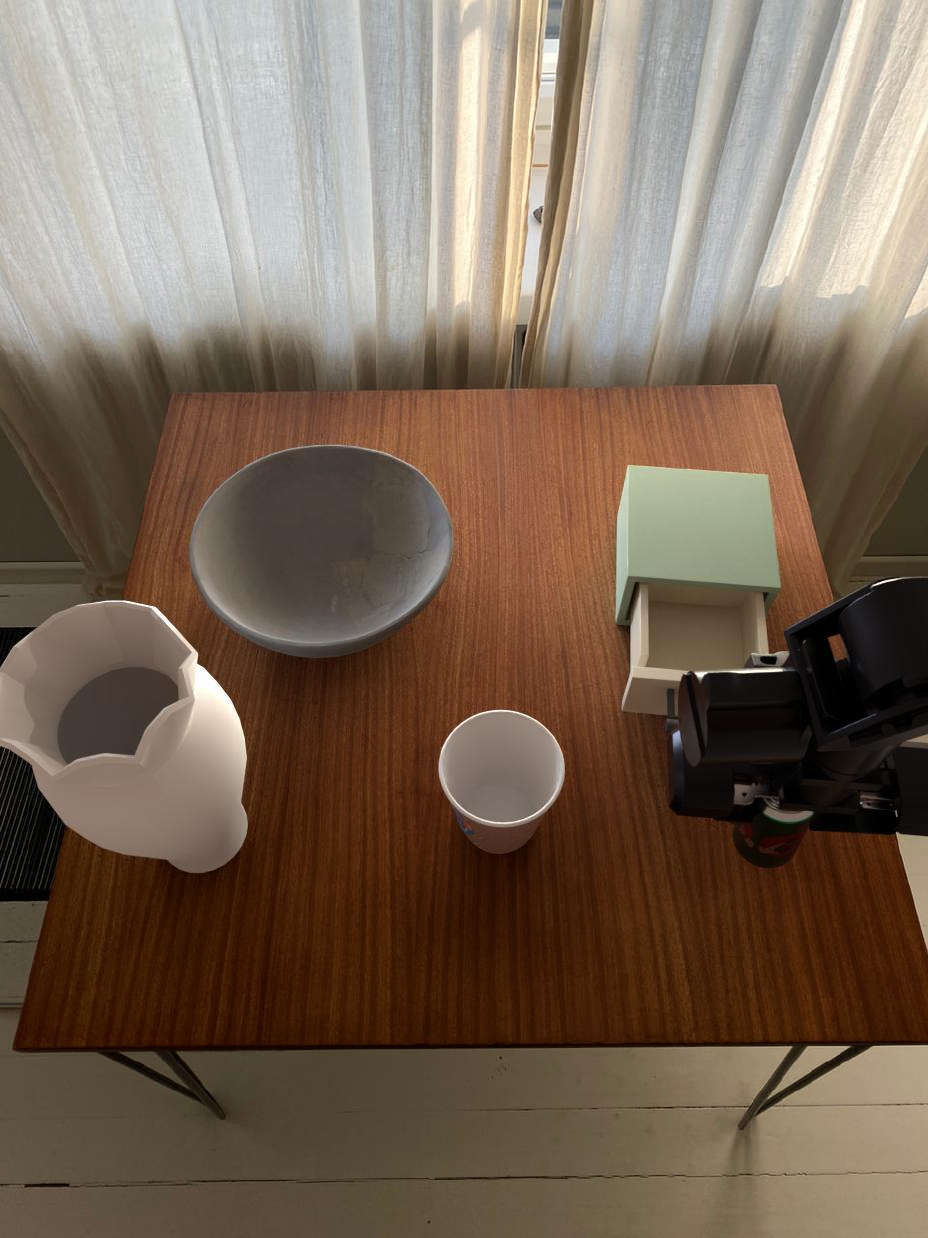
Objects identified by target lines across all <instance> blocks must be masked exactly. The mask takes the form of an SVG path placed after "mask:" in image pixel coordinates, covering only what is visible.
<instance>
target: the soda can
mask: <svg viewBox="0 0 928 1238" xmlns="http://www.w3.org/2000/svg"><path fill="white" fill-rule="evenodd" d="M761 785H762V786H763V784H761ZM756 786H757V784H756ZM767 786H768V787H769V785H767ZM816 813H817V812H812V811H800V810H788V809H780V804H779V799H770V798H755V799H754V801H753V802H752V814H753V823H752V824H742V825H734V824H733V827H732V835H731V836H732V841H733V845H734V847H735V849H736V851H737V852H738V854H739V855H740V856H741V858H743V859H744V860H745V861H746V862H748V864H751V865H753V866H755V867H758V868H760V869H761V868H762V869H768V870H769V869H777V868H780V867H783V866H785V865H787V864H788V863H789V862H790V861H791V860H792V859H793V858H794V856H795V855H796V853H797V852H798V849H799V847H800V845H801V844H802V841H803V840H804V837H805V836H806V833H807V832H808V830H809V826H810V824H811V822H812V820H813V818H814V816H815V814H816Z"/></svg>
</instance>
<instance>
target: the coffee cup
mask: <svg viewBox="0 0 928 1238" xmlns="http://www.w3.org/2000/svg"><path fill="white" fill-rule="evenodd" d="M565 769H566V767H565V759H564V755H563V751H562V749H561V747H560V744H559V742H558V740H557V739H556V738H555V736H554V735H553V733H552V732H551V731H550V730H549V729H548V728H547V727H546V726H544V724H542V723H541V722H539V720H537V719H535V718H533V717H532V716H529V715H527V714H526V713H525V714H524V713H522V712H519V711H514V710H507V709H495V710H494V709H493V710H488V711H483V712H480V713H476V714H474V715H472V716H470V717H468V718H467V719H465V720H464V721H462V722H461V723H460V724H458V725H457V726H456V727H455V728H453V730H452V731H451V733H450V734H449V735H448V737H447V738H446V739H445V741H444V743H443V745H442V747H441V751H440V754H439V759H438V776H439V781H440V784H441V788H442V790H443V792H444V794H445V796H446V798H447V799H448V800H449V802H450V803H451V806H452V808H453V812H454V814H455V817H456V819H457V822H458V824H459V826H460V828H461V830H462V831H463V833H464V835H465V836H466V837H467V840H469V841H470V842H471V843H472V844H473V845H475V846H476V847H477V848H479V849H480V850H482V851H485V852H487V853H491V854H499V855H502V854H507V853H511V852H514V851H517V850H518V849H519V848H521V847H523V846H524V845H525V844H527V843H528V842H529V840H531V838H532V837H533V835H535V833H536V831H537V829H538V827H539V826H540V824H541V822H542V820H543V818H544V816H545V815H546V813H547V811H548V810H549V809H550V808H551V807H552V806H553V804H554V803H556V800H557V799H558V797H559V795H560V793H561V790H562V788H563V785H564V781H565V775H566V772H565Z"/></svg>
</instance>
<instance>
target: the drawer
mask: <svg viewBox="0 0 928 1238" xmlns="http://www.w3.org/2000/svg"><path fill="white" fill-rule="evenodd" d="M766 619H767V618H765V609H764V599H763V592H758V591H745V590H732V589H720V588H707V587H695V586H682V585H669V584H657V583H644V582H635V585H634V589H633V593H632V596H631V626H630V672H629V676H628V678H627V679H628V680H627V683H626V687H625V690H624V693H623V696H622V699H621V700H622V701H621V712H622V713H623V712H625V713H636V714H647V715H657V716H667V717H666V718H665V720H664V721H665V722H664V733H665V734H667V735H669V734H670V732H671V731H672V730H673V729H674V728H675V727H676V726H677V725H678V724H679V722H678V718H676V717H678V692H679V685H680V681H681V677H682V675H683V674H684V673H688V672H689V671H695V670H718V669H742V668H744V666H745V663H746V661H747V660H748V658H749V657H750V655H751V654H752V653H756V654H762V653H765V654H770V650H769V649H770V648H769V641H768V631H767V621H766Z"/></svg>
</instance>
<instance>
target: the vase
mask: <svg viewBox="0 0 928 1238" xmlns="http://www.w3.org/2000/svg"><path fill="white" fill-rule="evenodd" d="M198 658H199V653H198V652H197V650H196V649H195V648H194V646H193V645H191V644H190V643H189V641H188V640H187V639H186V638H185V637H184V636H183V635H182V633H181V632H180V631H179V630H178V629H177V628H176V627H175V626H174V624H172V623H171V622H170V620H169V619H168V618H167V617H166V616H165V615H164V614H163V613H162V612H161V611H160V610H159V609H158V608H157V607H156V606H152V605H147V604H142V603H137V602H133V601H128V600H104V601H96V602H90V603H81V604H77V605H74V606H72V607H70V608H67V609H65V610H62V611H59V612H57V613H55V614H52V615H51V616H50V617H49V618H47V619H46V620H45V621H44V622H42V623H41V624H40V625H38V626H37V627H36V628H34V629H33V630H32V631H31V632H29V634H27V635H26V636H25V637H23V638H22V639H21V640H19V641H18V642H17V643H16V644H15V645H13V646H12V648H11V649H10V651H9V653H8V655H7V656H6V657H5V660H4V661H3V663H2V664H1V666H0V747H1V748H5V749H7V750H9V751H11V752H13V753H14V754H16V755H17V756H18V757H20V758H22V759H23V760H24V761H26V762H27V763H28V764H30V765H31V768H32V771H33V775H34V778H35V781H36V784H37V785H36V786H37V788H38V789H39V791H40V792H41V794H42V795H43V796H44V798H45V799H46V800H47V802H48V803H49V804H50V806H51V807H52V809H53V810H54V812H56V814H57V816H58V817H59V818H60V820H61V821H62V822H63V824H64V825H65V826H66V827H67V828H70V829H71V830H72V831H74V832H75V833H77V834H78V835H80V836H81V837H82V838H83V839H85V840H88V841H89V842H91V843H93V844H94V845H96V846H98V847H100V848H102V849H105V850H108V851H111V852H114V853H115V852H116V853H118V854H122V855H125V856H133V857H140V858H141V857H142V858H148V859H149V858H150V859H156V860H157V859H158V860H167V862H169V864H170V865H172V866H173V867H175V868H176V869H178V870H180V871H182V872H186V873H190V874H204V873H208V872H211V871H215V870H217V869H218V868H221V867H223V866H225V865H226V864H227V863H228V862H229V861H231V860H232V859H234V858H235V856H236V855H237V853H238V852H239V851H240V850H241V848H242V847H243V844H244V842H245V839H246V838H247V833H248V826H249V822H248V815H247V812H246V810H245V808H244V805H243V803H242V800H243V799H242V798H243V790H244V783H245V775H246V768H247V760H248V756H247V748H246V747H247V746H246V739H245V735H244V734H245V733H244V730H243V727H242V723H241V719H240V716H239V714H238V713H237V711H236V708H235V705H234V704H233V701H232V700H231V698H230V697H229V695H228V694H227V693H226V692H225V690H224V689H223V688H222V686H221V685H220V684H219V683H218V681H217V680H216V679H215V678H214V677H213V676H212V675H211V674H210V673H209V672H208V671H207V670H206V668H205V667H203V666H201V664H198Z"/></svg>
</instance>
